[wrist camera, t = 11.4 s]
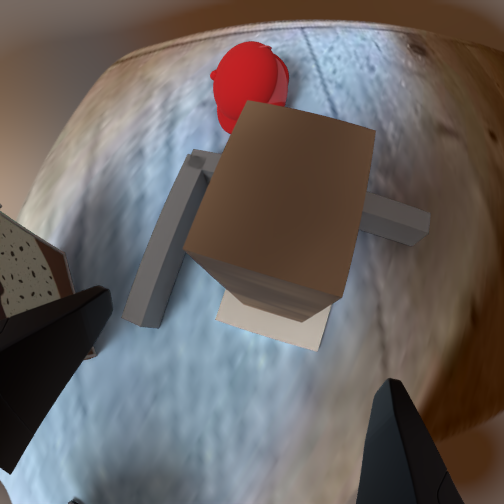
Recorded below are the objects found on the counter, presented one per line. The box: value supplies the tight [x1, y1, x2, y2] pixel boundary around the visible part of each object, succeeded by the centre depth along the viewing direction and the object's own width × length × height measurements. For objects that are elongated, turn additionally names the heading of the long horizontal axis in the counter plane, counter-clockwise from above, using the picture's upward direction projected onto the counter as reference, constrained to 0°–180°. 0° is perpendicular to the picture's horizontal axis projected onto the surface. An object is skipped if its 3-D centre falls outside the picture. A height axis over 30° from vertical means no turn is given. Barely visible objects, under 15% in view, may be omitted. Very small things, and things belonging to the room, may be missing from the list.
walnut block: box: [183, 100, 376, 323], centre depth 14 cm, size 4×5×13 cm
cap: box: [210, 41, 289, 134], centre depth 22 cm, size 8×6×6 cm
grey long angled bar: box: [121, 149, 431, 351], centre depth 19 cm, size 12×17×3 cm
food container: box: [0, 204, 97, 360], centre depth 16 cm, size 12×6×10 cm, turn 27°
